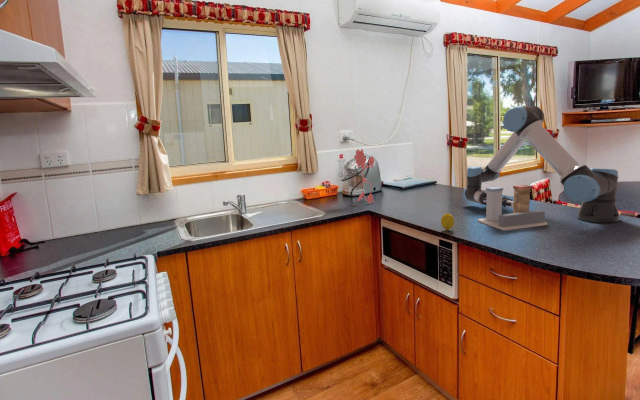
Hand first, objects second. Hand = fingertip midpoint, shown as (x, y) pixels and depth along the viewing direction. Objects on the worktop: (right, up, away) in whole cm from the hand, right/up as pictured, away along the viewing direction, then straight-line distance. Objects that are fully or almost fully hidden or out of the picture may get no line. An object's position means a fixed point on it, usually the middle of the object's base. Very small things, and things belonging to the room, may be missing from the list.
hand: (517, 205), depth 170 cm
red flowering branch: (-66, 0, +63) cm, 91 cm away
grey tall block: (-12, -7, -2) cm, 14 cm away
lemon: (-36, -11, -9) cm, 39 cm away
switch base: (-5, -8, -4) cm, 10 cm away
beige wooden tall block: (+1, -6, -1) cm, 6 cm away
